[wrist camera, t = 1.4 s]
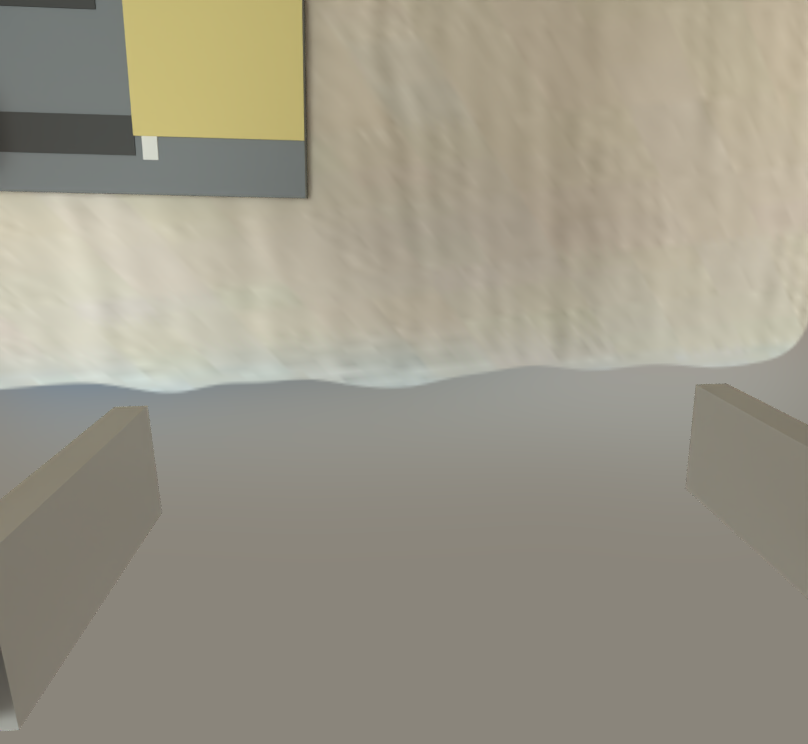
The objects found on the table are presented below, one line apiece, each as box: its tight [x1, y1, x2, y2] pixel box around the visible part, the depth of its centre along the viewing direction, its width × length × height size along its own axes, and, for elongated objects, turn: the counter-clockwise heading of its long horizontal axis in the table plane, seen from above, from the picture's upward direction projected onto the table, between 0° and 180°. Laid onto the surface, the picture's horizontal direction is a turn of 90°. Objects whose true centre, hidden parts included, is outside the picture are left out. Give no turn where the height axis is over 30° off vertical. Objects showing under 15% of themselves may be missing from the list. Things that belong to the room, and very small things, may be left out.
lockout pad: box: [122, 0, 304, 141], centre depth 33 cm, size 8×9×1 cm
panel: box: [0, 0, 307, 198], centre depth 31 cm, size 12×22×6 cm, turn 89°
